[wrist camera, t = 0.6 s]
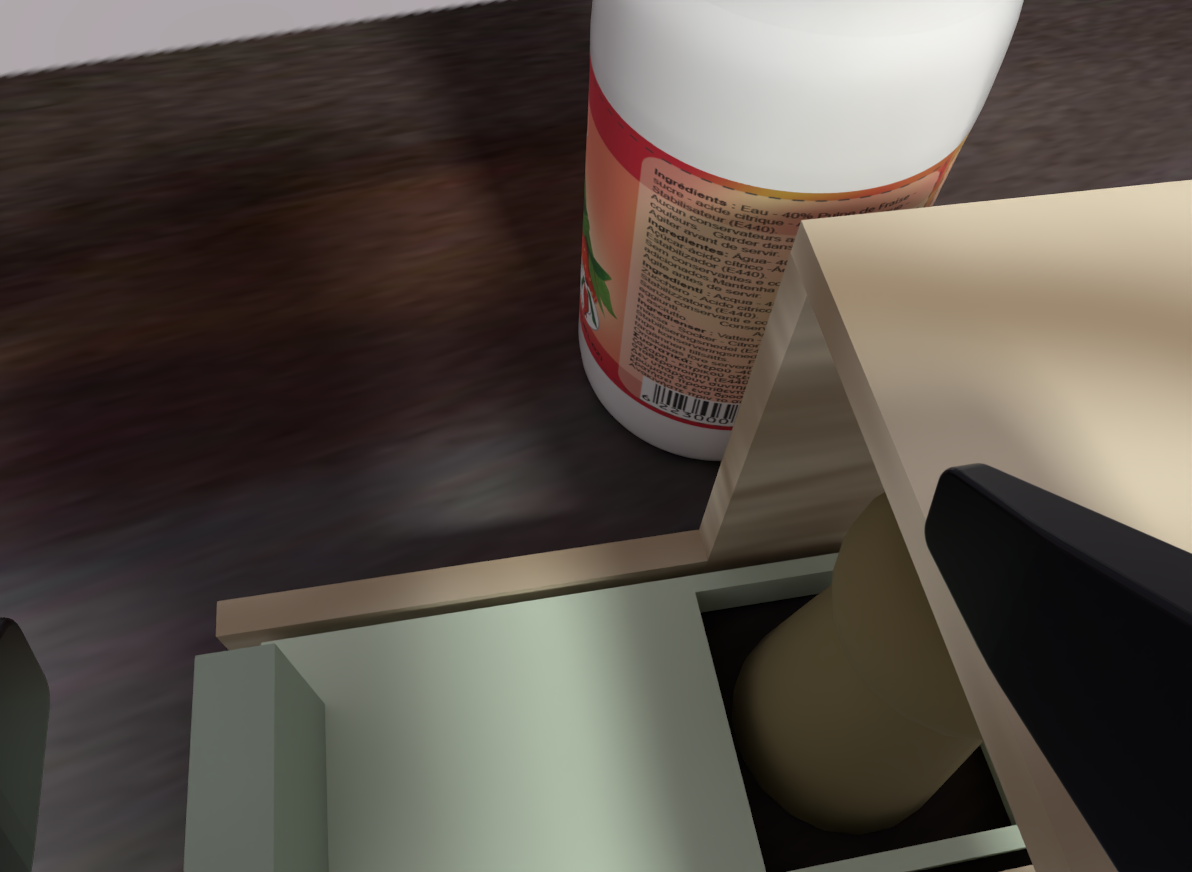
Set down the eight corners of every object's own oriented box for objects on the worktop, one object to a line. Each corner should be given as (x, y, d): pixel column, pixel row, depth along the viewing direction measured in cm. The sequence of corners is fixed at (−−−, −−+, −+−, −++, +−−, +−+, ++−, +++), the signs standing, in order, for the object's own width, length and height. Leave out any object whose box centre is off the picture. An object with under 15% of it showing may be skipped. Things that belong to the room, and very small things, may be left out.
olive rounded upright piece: (989, 738, 25) (1252, 593, 16) (843, 887, 23) (1047, 822, 13) (833, 578, 27) (981, 369, 18) (687, 700, 25) (769, 534, 16)
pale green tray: (1056, 842, 23) (1217, 799, 18) (277, 1004, 21) (175, 1014, 15) (938, 558, 27) (1039, 449, 22) (278, 663, 25) (199, 570, 19)
